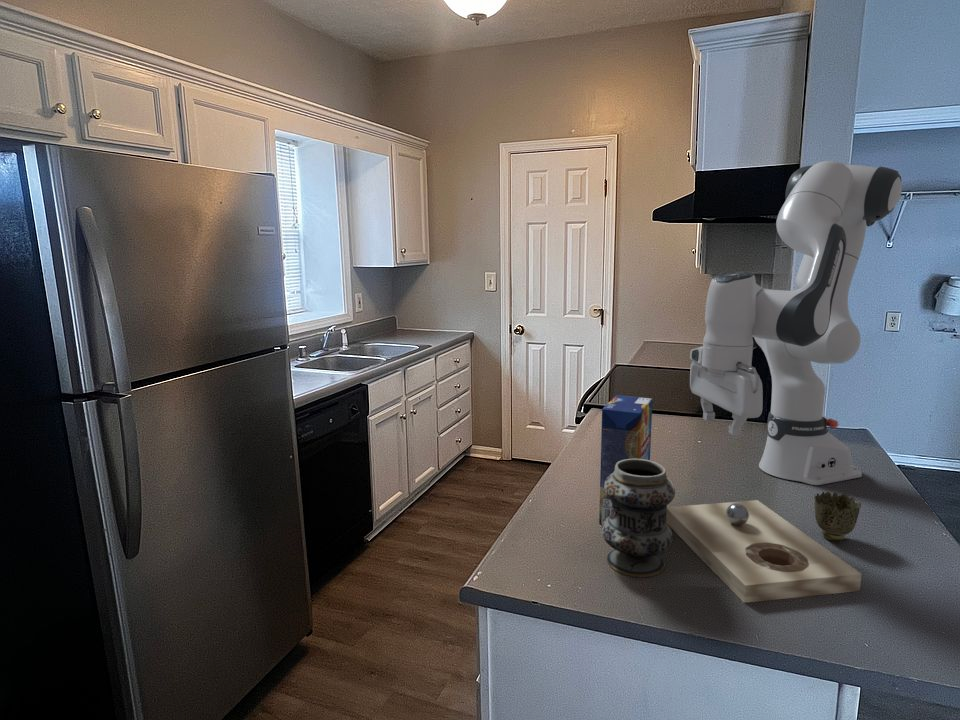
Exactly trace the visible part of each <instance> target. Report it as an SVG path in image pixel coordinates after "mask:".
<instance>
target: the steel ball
mask: <svg viewBox="0 0 960 720" xmlns="http://www.w3.org/2000/svg"><path fill="white" fill-rule="evenodd" d="M726 517H727V519H728V520H729V521H730V522H731V523H732V524H735V525H743V524H745V523H746V522H747V521H748V518H749V512H748V510H747V508H746V507H745V506H743V505H742V504H738V503H734V504H731V505H730V506H728V508H727V510H726Z"/></svg>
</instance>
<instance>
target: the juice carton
mask: <svg viewBox="0 0 960 720" xmlns="http://www.w3.org/2000/svg"><path fill="white" fill-rule="evenodd" d="M652 417H653V398H652V397H651V398H650V397H642V396H640V397H639V396H631V395H630V396H629V395H621V394H616V395H615V396H613V398H612V399H611V400H610V401H609V402H608V403H606V405H604V406H603V408H602V409H601V432H600V433H601V435H600V436H601V443H600V472H599V473H600V477H599V480H600V481H599V515H598V516H599V518H598V524H601V525H602V524H603V522H604V521H605V520H606V518H608V517H609V514H610V503H611V499H610V498H609V497H608V496H607V494H606V492H605V489H604V483H605V480H606V479H607V477H608V476H609V475H610V474H612V473H614V470H615V465H616V463H617V462H618V461H621V460H624V459H645V460H650V461H651V447H652V446H651V445H652V444H651V443H652V422H653V421H652V420H653V419H652Z"/></svg>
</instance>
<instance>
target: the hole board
mask: <svg viewBox="0 0 960 720" xmlns="http://www.w3.org/2000/svg"><path fill="white" fill-rule="evenodd" d="M734 503H738V504H742V505H743V506H745V507H746V508H747V510H748V512H749V518H748V521H747V522H746V523H745V524H743V525H735V524H732V523H731V522H730V521H729V520H728V519H727V517H726V510H727V508H728V506H730V505H731V504H734ZM666 524H667V525H668V526H669V528H670V529H671V530H673V531H674V532H675V533H676V535H677V536H679V538H680V539H682V541H683V542H684V543H685V544H687V546H688V547H689V548H690V550H692V551H693V552H694V553H695V554H696V555H697V556H698V557H699V558H700V559H701V560H702V562H704V563H705V565H706V566H708V568H709V569H710V570H711V571H713V573H714V574H715V575H716V576H717V577H718V578H719V579H720V580H721V581H722V582H723V583H724V584H725V585H726V586H727V587H728V589H730V590H731V591H732V592H733V593H734V594H735V596H737V597H738V598H739V599H740V600H741V602H743V604H744V603H755V602H756V603H757V602H764V601H765V602H766V601H767V602H768V601H774V600H783V599H785V600H786V599H794V598H804V597H813V596H822V595H833V594H834V595H835V594H841V593H851V592H860V590H861V582H862V576H863V575H862V574H863V573H861V572H859V571H858V570H857V569H856V568H854V567H853V566H851V565H849V564H848V563H847V562H846V561H844V560H842V559H841V558H840V557H839V556H837V555H836V554H834V553H832V552H831V551H830V550H829V549H827V548H826V547H824V546H823V545H821V544H820V543H818V542H817V541H816V540H814V539H813V538H812V537H810V536H809V535H808V534H806V533H804V532H803V531H802V530H800V529H799V528H797V527H796V526H795V525H793V524H792V523H790V522H789V521H787V520H786V519H784V518H783V517H782V516H780V515H779V514H777V513H776V512H775V511H773V510H772V509H771V508H770V507H768V506H767V505H765V504H763V503H762V502H761V501H759V500H758V499H755V500H742V501H729V502H716V503H704V504H703V503H702V504H692V505H691V504H688V505H679V506H677V505H676V506H667V512H666Z"/></svg>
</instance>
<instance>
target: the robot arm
mask: <svg viewBox="0 0 960 720" xmlns="http://www.w3.org/2000/svg"><path fill="white" fill-rule="evenodd" d="M902 190H903V185H902V176H901V175H900V173H899V171H898V170H895V169H893V168H890V167H885V166H879V167H876V166H875V167H874V166H868V165H860V164H843V163H842V162H839V161H836V160H823V161H818V163H815V164H812V165H811V164H810V165H806V166H802V167H800V168H798V169H797V170H795V171H794V172H793V173H792V174H791V176H790V177H789V179H788V182H787V184H786V189H785V195H784V196H785V197H784V198H785V201H784V203H783V204H782V206H781V208H780V210H779V211H778V214H777V218H776V222H775V226H776V231H777V234H778V236H779V237H780V239H781V241H782V242H784V243H785V245H786V246H788V247H789V248H790V249H792V250H794V251H796V252H797V253H800V254H803V256H802V259H801V263H800V264H799V268H798V271H797V274H796V276H795V282H794V283H795V285H796V289H795V290H782V289H770V288H764V287H763V286H761V285H759V284H758V283H757V282H756V276H755V274H754V273H752V272H748V271H730V272H729V271H727V272H724V273H719V274H717V275H715V276H714V277H713V278H712V279H711V280H710V284H709V287H708V289H707V295H706V302H705V310H704V313H705V314H704V322H705V334H704V337H703V341H702V346H698V347H696V348H693V349H690V353H689V358H690V359H689V360H691V363H690V369H689V370H690V371H689V372H690V373H689V388H690V390H691V393H692V394H694V395H695V396H698V397H700V405H701V408H702V411H703V414H702V419H703V420H705V421H706V422H708V423H709V422H714V421H715V419H716V418H715V417H716V413H715V412H714V408H713V404H714V405H716V406H718V407H720V408H722V409H724V410H725V411H728V412H730V413H732V419H733V420H732V424H728V431H727V432H728V434H729V435H731V436H733V437H739V436H741V435H742V432H743V431H742V430H743V426H744V425H745V423H746V422H747V420H748V419H755V418H756V419H757V418H759V417H760V416H761V415H762V413H763V407H764V406H763V403H764V402H763V401H764V400H763V397H764V395H763V394H764V391H763V382H762V378H760V375H759V374H758V372H757V369H756V367H754V366H753V365H752V361H753V351H754V340H755V343H756V344H757V345H758V346H759V348H760V349H761V350H762V352H763V353H764V356H765V358H766V362H767V364H768V367H769V372H770V376H771V400H770V403H771V404H770V411H769V412H768V417H767V424H766V425H767V428H766V429H767V438H766V443H765V447H764V450H763V454H762V456H761V459H760V461H759V464H758V466H759V469H760V470H761V471H763V472H764V473H766V474H768V475H771V476H774V477H777V478H779V479H780V478H781V479H784V480H790V481H795V482H800V483H801V482H802V483H804V484H809V485H811V486H820V485H821V486H822V485H826V484H832V483H838V482H843V481H848V480H852V479H857V478H862V477H863V474H862V471H861V469H859V468H858V467H857V466H856V465H853V464H852V454H851V451H850V449H849V448H848V447H847V445H845V444H844V443H843V442H841V441H840V440H839V439H838V438H836V437H835V436H834V435H833V434H832V433H830V432H829V429H828V427H829V428H831V429H837V427H839V425H840V423H839V421H838V420H835V419H834V418H828V419H827V418H826V417H824V416H823V414H824V405H825V395H826V387H825V383H824V382H823V380H822V379H821V378H820V377H819V376H818V375H817V374H816V372H815V370H814V368H813V365H812V362H813V363H817V364H825V365H827V364H830V365H831V364H833V365H835V364H844V363H847V362H849V361H850V360H851V359H853V358H854V356H855V355H856V354H857V353H858V351H859V348H860V345H861V333H860V330H859V328H858V326H857V325H856V324H855V323H854V321H853V319H852V318H851V315H850V311H849V303H848V301H849V300H848V299H849V292H850V287H851V285H852V281H853V278H854V273H855V270H856V268H857V266H858V263H859V259H860V257H861V253H862V250H863V246H864V242H865V237H866V232H867V231H866V230H867V227H872V226H873V225H874V224H875V223H876V221H879V220H882V219H884V218H885V217H887V216H888V215H889V214H891V213H892V211H894V209H895V208H896V205H897V204H898V202H899V200H900V198H901V196H902ZM753 339H754V340H753Z"/></svg>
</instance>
